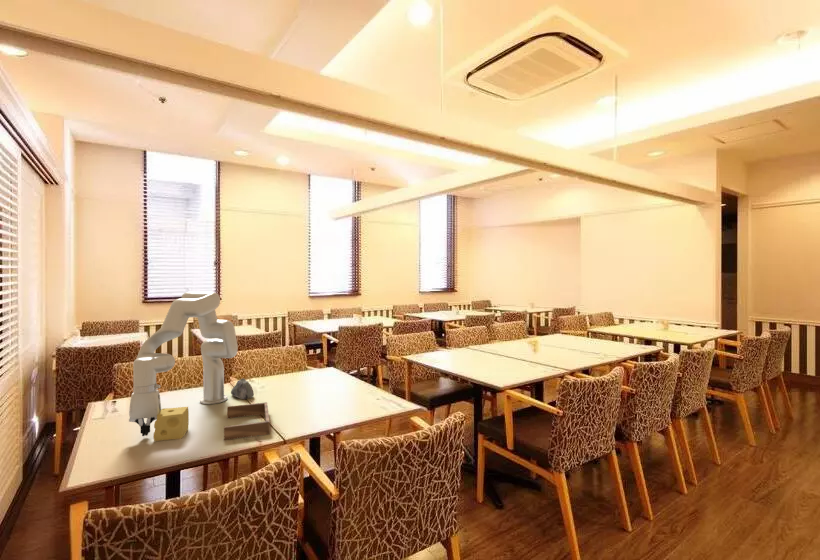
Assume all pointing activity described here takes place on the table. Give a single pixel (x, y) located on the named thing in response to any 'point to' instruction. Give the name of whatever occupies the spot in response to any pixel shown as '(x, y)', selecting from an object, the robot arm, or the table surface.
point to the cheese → (171, 423)
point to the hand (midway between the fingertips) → (145, 434)
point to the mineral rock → (242, 389)
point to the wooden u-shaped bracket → (250, 428)
